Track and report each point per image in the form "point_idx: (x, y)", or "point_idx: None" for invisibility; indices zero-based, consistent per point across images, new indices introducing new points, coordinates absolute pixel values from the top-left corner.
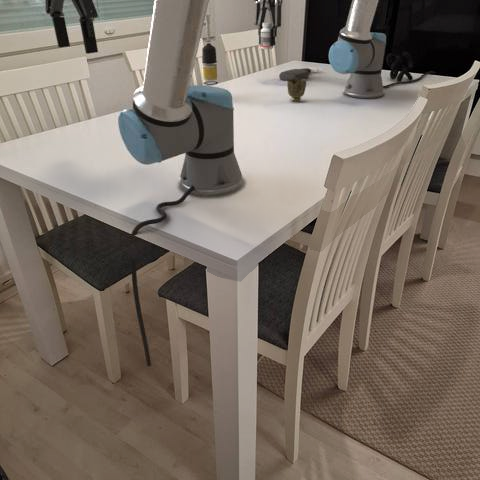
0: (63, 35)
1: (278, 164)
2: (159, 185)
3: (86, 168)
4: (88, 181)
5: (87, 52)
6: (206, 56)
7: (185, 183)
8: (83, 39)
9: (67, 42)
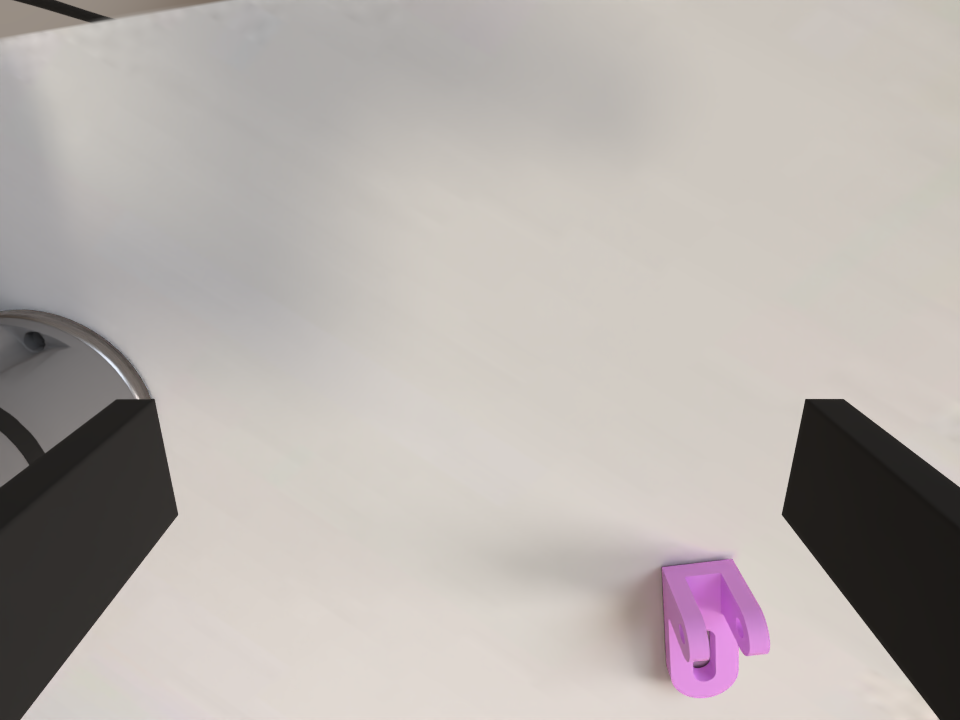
0: (860, 546)
1: None
2: (145, 281)
3: (495, 171)
4: (362, 104)
5: (110, 407)
6: None
7: (10, 321)
8: (50, 477)
9: (807, 521)
